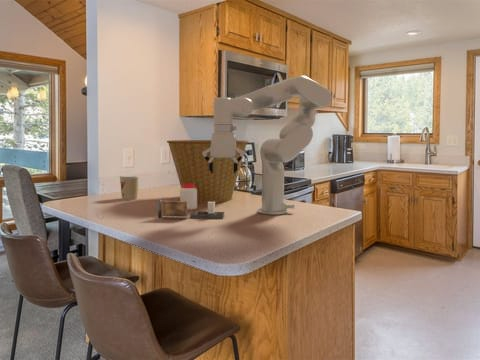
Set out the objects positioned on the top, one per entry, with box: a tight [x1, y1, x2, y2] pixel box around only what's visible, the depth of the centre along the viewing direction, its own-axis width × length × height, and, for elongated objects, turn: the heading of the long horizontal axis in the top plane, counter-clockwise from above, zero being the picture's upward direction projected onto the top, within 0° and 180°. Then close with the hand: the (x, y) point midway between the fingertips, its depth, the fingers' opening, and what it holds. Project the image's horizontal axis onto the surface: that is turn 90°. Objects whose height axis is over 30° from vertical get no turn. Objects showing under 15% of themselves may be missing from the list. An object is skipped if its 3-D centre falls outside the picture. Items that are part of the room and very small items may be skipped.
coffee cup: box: [119, 174, 139, 201], centre depth 198 cm, size 9×9×12 cm
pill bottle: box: [179, 183, 198, 211], centre depth 175 cm, size 8×8×11 cm
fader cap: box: [207, 201, 216, 214], centre depth 156 cm, size 2×4×5 cm, turn 176°
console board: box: [190, 210, 225, 220], centre depth 157 cm, size 13×6×2 cm, turn 86°
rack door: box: [162, 200, 188, 218], centre depth 152 cm, size 10×1×6 cm, turn 86°
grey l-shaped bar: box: [157, 199, 188, 220], centre depth 152 cm, size 12×1×8 cm, turn 86°
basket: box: [166, 139, 250, 204], centre depth 200 cm, size 42×42×30 cm
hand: (223, 172), depth 154 cm, fingers open, 8 cm apart
